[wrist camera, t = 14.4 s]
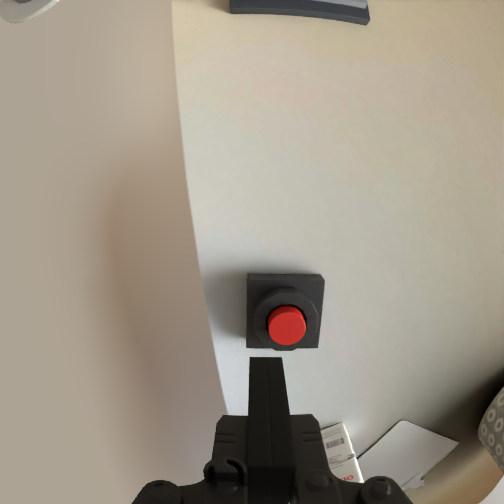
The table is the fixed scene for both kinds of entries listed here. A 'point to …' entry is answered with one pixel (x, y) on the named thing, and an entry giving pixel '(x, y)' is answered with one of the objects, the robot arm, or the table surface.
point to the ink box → (341, 454)
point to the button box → (283, 294)
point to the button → (286, 325)
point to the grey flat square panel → (405, 455)
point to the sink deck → (307, 9)
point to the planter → (494, 429)
